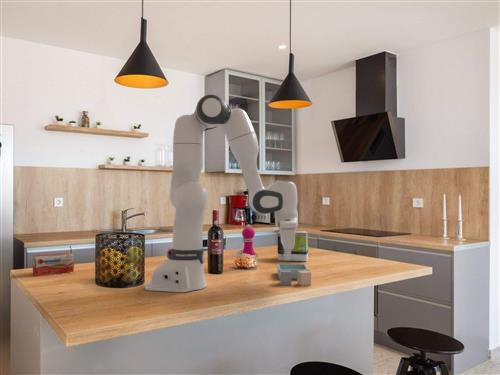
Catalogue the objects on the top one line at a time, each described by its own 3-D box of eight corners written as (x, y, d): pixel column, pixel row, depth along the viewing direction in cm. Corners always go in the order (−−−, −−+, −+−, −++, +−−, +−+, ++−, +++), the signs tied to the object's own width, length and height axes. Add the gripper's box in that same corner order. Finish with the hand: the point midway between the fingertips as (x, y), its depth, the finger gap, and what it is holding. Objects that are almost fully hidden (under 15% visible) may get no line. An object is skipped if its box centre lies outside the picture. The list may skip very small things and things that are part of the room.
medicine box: (34, 277, 169) (35, 257, 169) (32, 273, 175) (32, 255, 175) (74, 273, 177) (74, 254, 177) (70, 270, 184) (70, 252, 184)
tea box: (308, 258, 217) (308, 230, 217) (306, 262, 207) (306, 232, 207) (280, 257, 220) (280, 230, 221) (277, 260, 211) (277, 231, 211)
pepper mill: (254, 268, 188) (254, 225, 188) (238, 268, 189) (239, 225, 189) (257, 266, 195) (257, 224, 195) (242, 265, 196) (242, 223, 197)
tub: (279, 279, 165) (279, 269, 166) (277, 273, 178) (277, 263, 178) (309, 279, 165) (309, 269, 165) (305, 273, 178) (305, 264, 178)
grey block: (280, 285, 156) (280, 271, 156) (280, 282, 160) (280, 269, 160) (291, 285, 156) (291, 272, 156) (290, 282, 160) (290, 270, 160)
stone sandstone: (301, 286, 154) (301, 272, 154) (297, 283, 158) (297, 270, 158) (311, 285, 155) (311, 272, 155) (306, 283, 159) (307, 270, 159)
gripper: (276, 219, 169) (277, 253, 169) (280, 224, 148) (280, 262, 148) (292, 219, 169) (292, 253, 169) (297, 224, 148) (298, 262, 148)
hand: (287, 257), depth 158 cm, fingers open, 8 cm apart
